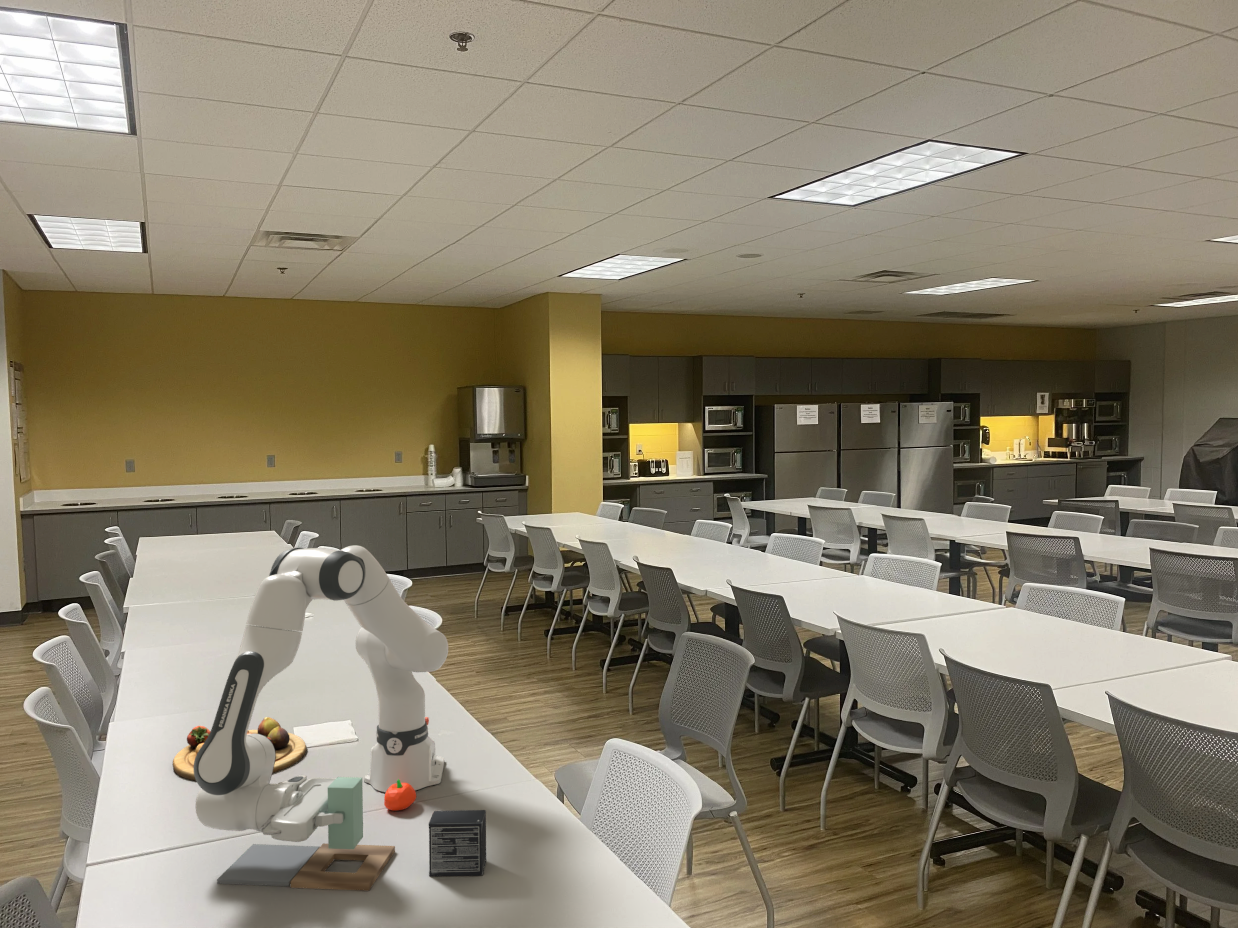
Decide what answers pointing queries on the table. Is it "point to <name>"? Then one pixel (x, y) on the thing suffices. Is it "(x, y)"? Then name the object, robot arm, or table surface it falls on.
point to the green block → (346, 812)
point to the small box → (457, 843)
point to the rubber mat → (268, 865)
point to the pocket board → (361, 880)
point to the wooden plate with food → (284, 743)
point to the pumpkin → (399, 796)
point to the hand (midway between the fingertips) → (350, 809)
